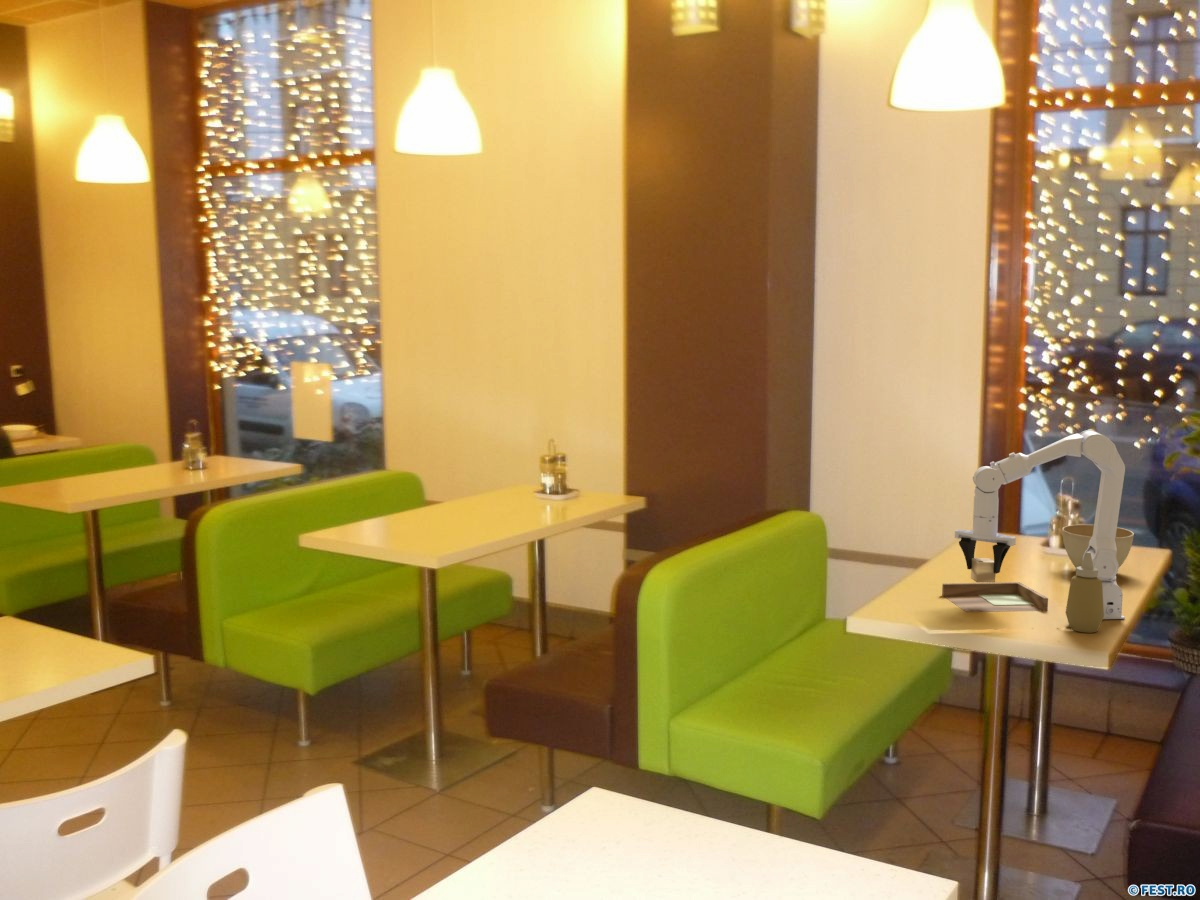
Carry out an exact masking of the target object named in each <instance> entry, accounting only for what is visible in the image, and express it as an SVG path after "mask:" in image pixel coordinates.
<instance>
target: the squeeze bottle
mask: <svg viewBox="0 0 1200 900" xmlns="http://www.w3.org/2000/svg"><path fill="white" fill-rule="evenodd" d="M1097 576H1098V569H1097V568H1094V567H1093V562H1092V557H1091V553H1090V552H1085V555H1084V558H1083V562H1082V565H1081V566H1079V567H1077V568H1075V575H1073V576H1072V577H1071V579H1070V583H1069V590H1068V596H1067V602H1066V606H1065V607H1066V608H1065V616H1066V618H1067V623H1068V625H1069V628H1070V629H1071V630H1073V631H1076V632H1079V633H1096V632H1098V630H1099V629H1100V626H1101V624H1102V622H1103V621H1104V619H1103V617H1104V607H1103V588H1102V581H1101V580H1100V579H1099V578H1098V577H1097Z"/></svg>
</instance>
